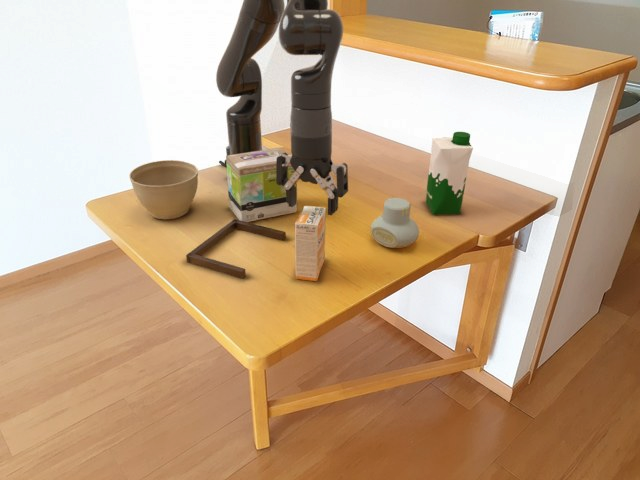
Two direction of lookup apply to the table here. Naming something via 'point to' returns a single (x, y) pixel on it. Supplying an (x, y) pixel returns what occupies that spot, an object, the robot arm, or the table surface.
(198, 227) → the table surface
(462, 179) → the milk carton
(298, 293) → the table surface
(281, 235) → the bay
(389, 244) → the air freshener
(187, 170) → the planter bowl
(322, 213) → the supplement box
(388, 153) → the table surface
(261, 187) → the tea box
